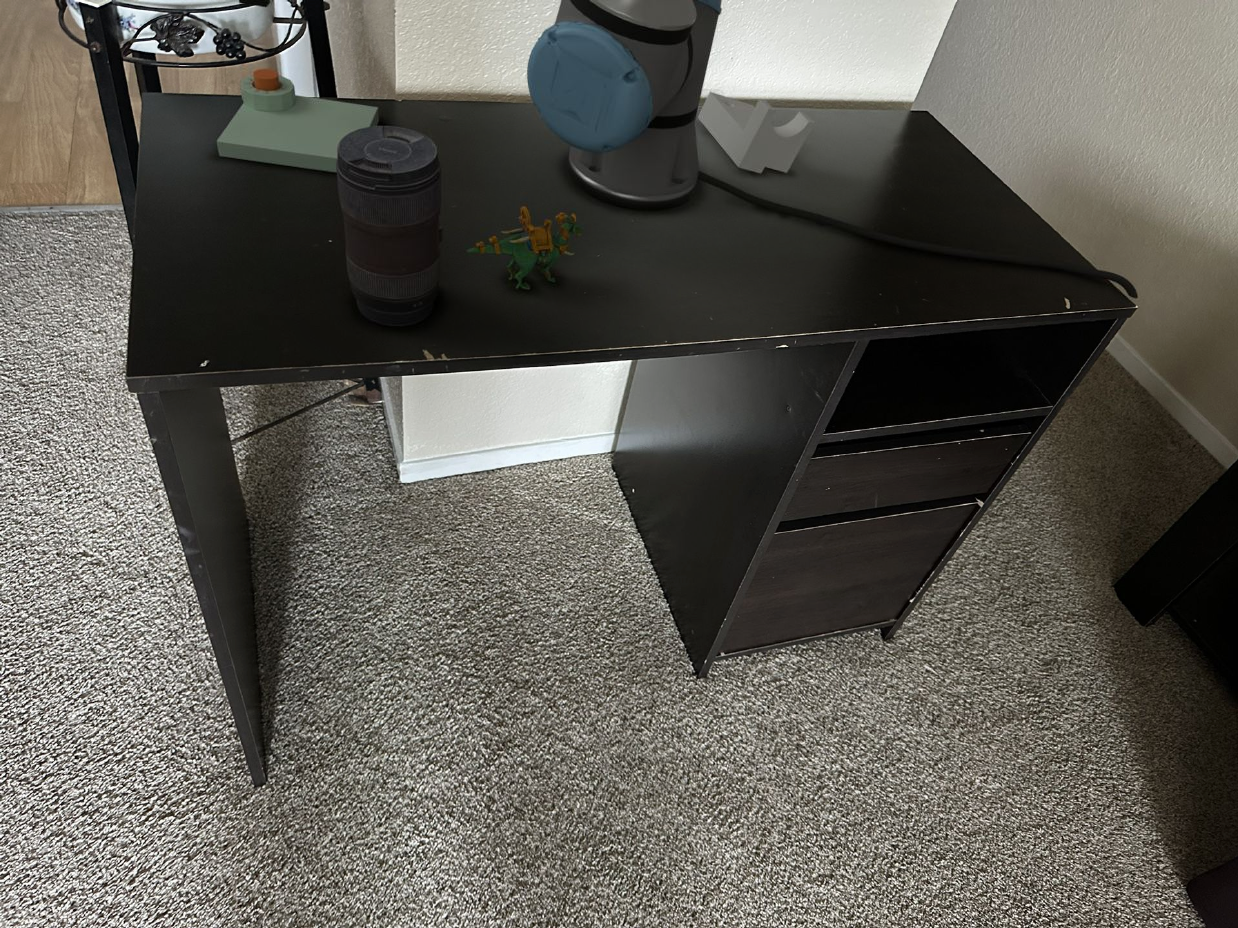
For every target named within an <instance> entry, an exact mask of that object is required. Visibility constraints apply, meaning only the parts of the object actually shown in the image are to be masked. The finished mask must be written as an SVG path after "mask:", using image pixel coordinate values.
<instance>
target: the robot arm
mask: <svg viewBox="0 0 1238 928" xmlns="http://www.w3.org/2000/svg"><path fill="white" fill-rule="evenodd" d="M722 1H723V0H560V3H559V8H558V11H557V15H556V18H555V22H554V23H553V24H552V25H551V26H549V27H547V28H546V29H544V31H542V33H541V35H540V37H538V38H537V40H536V42H535V44H534V45H533V47H532V49H531V51H530V54H529V57H528V61H527V67H526V79H527V80H526V81H527V87H528V88H527V89H528V92H529V95H530V99H531V101H532V104H533V106H534V107H536V109H537V111H538V113H539V114H540V119H541V120H542V121H543V123H544V124H545V126H546V127H547V128H548V129H549V130H550V132H552V133H553V134H554V135H555V136H556V137H558V138H559V139H560V140H562V141H563V142H564V143H566V144H568V145H569V146H570V148H569V150H568V158H567V159H568V161H567V172H568V174H569V176H570V178H571V180H572V181H573V182H574V183H575V184H576V185H577V186H578V187H579V188H580V189H582V191H584V192H585V193H587V194H588V195H591V196H593V197H594V198H596V199H599V200H601V201H604V202H606V203H609V204H612V205H615V206H619V207H623V208H629V209H635V210H648V211H650V210H651V211H653V210H665V209H670V208H674V207H678V206H681V205H683V204H684V203H686V202H688V201H690V199H691V198H692V197H694V196H695V193H696V190H697V187H698V183H699V181H701V182H704V183H706V184H708V185H711V186H713V187H715V188H718V189H720V190H722V191H724V192H726V193H729V194H731V195H733V196H735V197H737V198H738V199H740V200H743V201H744V202H745V201H746V202H747V203H750V204H752V205H756V206H758V207H761V208H764V209H767V210H771V211H774V212H777V213H779V214H780V213H781V214H785V215H788V216H792V217H796V218H800V219H804V220H808V221H811V222H815V223H819V224H822V225H825V226H829V227H832V228H835V229H838V230H841V231H844V232H848V233H851V234H854V235H857V236H861V237H864V238H867V239H869V240H874V241H878V242H882V243H886V244H891V245H895V246H899V247H903V248H908V249H913V250H919V251H923V252H928V253H936V254H940V255H947V256H953V257H959V258H967V259H974V260H975V259H976V260H982V261H983V260H984V261H991V262H999V263H1000V262H1001V263H1009V264H1015V265H1022V266H1031V267H1039V268H1041V267H1042V268H1047V269H1054V270H1055V269H1056V270H1060V271H1065V272H1069V273H1074V274H1078V275H1082V276H1086V277H1091V278H1092V277H1093V278H1096V279H1097V278H1099V279H1102V280H1107V281H1110V282H1113V283H1116V284H1118V285H1119V286H1121V287H1122V288H1123V289H1124V290H1125V293H1126V294H1127V295H1128V297H1130V298H1132V299H1138V298H1139V297H1138V296H1139V295H1138V292H1137V290H1136V288H1135V286H1134V285H1133V284H1132V282H1130V280H1128V279H1127V278H1126V277H1124V276H1123V275H1121V274H1117V273H1114V272H1111V271H1107V270H1101V269H1096V268H1090V267H1085V266H1081V265H1077V264H1074V263H1069V262H1065V261H1060V260H1059V261H1058V260H1053V259H1045V258H1037V257H1030V256H1029V257H1028V256H1020V255H1013V254H1006V253H1000V252H999V253H997V252H989V251H982V250H981V251H980V250H973V249H965V248H960V247H959V248H958V247H953V246H945V245H940V244H933V243H928V242H923V241H917V240H913V239H907V238H903V237H900V236H899V237H898V236H894V235H890V234H887V233H886V234H885V233H882V232H879V231H875V230H871V229H868V228H864V227H861V226H858V225H854V224H852V223H848V222H845V221H841V220H839V219H836V218H832V217H829V216H825V215H822V214H819V213H815V212H811V211H809V210H808V211H807V210H804V209H800V208H796V207H792V206H788V205H784V204H780V203H777V202H773V201H770V200H767V199H765V198H764V199H763V198H762V197H758V196H756V195H753V194H751V193H748V192H747V191H745V190H742V189H740V188H738V187H736V186H734V185H732V184H730V183H728V182H725V181H723V180H721V179H719V178H717V177H715V176H712V175H710V174H708V173H705V172H703V171H701V170H700V163H699V153H698V141H697V132H696V119H697V114H698V109H699V105H700V101H701V97H702V93H703V88H704V84H705V78H706V74H707V70H708V65H709V61H710V56H711V52H712V47H713V42H714V38H715V34H716V29H717V26H718V22H719V21H718V20H719V17H720V16H721V14H722V11H723V9H722ZM238 3H239V4H243V5H249V6H255V7H262V8H267V7H268V6H269V5H270V3H271V0H238Z"/></svg>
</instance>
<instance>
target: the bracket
mask: <svg viewBox="0 0 1238 928" xmlns="http://www.w3.org/2000/svg"><path fill="white" fill-rule="evenodd" d="M775 113H776V109H775V108H774V107H773V106H772V105H771V104H770V103H769V102H768V101H767V100H765V99H762V98H759V99H758V101H757V103H756V104H755V106H754V105H752V104H750V103H746V102H743V101H740V100H737V99H734V98H731V97H728V96H725V95H721V94H718V93H716V92H712V91H709V93H708V94H707V97H706V99H705V101H704V104H703V105H702V108H701V110H700V112H699V114H698V116H697V119H698V120H699V121H700V122H701V124H702V125H703V126H704V127H705V128H706V130H707V131H708V132H709V133H710V135H711V136H712V137H713V138H714V139H715V141H716V142H717V144H719V146H720V147H721V148H722V149H723V151H724V152H725V153H726V154H727V156H729V158H730V159H731V161H732V162H733V163H734V164H735V165H736V166H737V168H740V169H743V170H746V171H751V172H754V173H757V174H762V173H763V172H764V169H765V168H768V169H772V170H776V171H779V172H782V173H785V174H788V172H789V170H790V168H791V167H792V165H793V163H794V161H795V159H796V158H797V156H798V154H799V153H800V151H801V149H802V148H803V145H804V143H805V142H806V140H807V138H808V136H809V135H810V133H811V131H812V129H813V127H814V126H815V122H814V121H813V120H812V119H811V118H810V117H809V116H808V115H807V114H806V113H805V112H802V111H798V112H797V114H796V115H795V117H794V118H792V120H790V121H789V122H788V123H786V124H784V125H781V126H773V119H774V115H775Z"/></svg>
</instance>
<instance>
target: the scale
mask: <svg viewBox="0 0 1238 928" xmlns="http://www.w3.org/2000/svg"><path fill="white" fill-rule="evenodd" d="M278 75H279V83H280V89H278V90H275V91H263V90H258V89H256V88H255V83H254V77H253V74H252V75H248V76H245V77H243V78H242V80H241V81H240V82H239V88H240V94H241V100H242V102H243V103H242V105H241V106H240V107H239V109H238V110H237V112H236V113H235V114H234V115H233V118H231V120H230V122H229V123H228V124H227V125H226V127H225V129H224V130H223V131H222V133H221V134H220V136H219V137H218V138H217V140H216V145H217V151H218V156H219V157H223V158H230V159H237V160H244V161H245V160H246V161H252V162H257V163H258V162H260V163H266V164H272V165H273V164H274V165H279V166H281V165H282V166H288V167H295V168H301V169H308V170H317V171H321V172H330V173H336V174H337V170H336V161H337V156H338V155H337V147H338V143H339V142H340V140H341V139H342V138H343V137H344V136H345V135H347V134H348V133H350V132H353V131H355V130H358V129H361V128H365V127H372V126H378V124H379V122H380V113H379V107H378V106H371V105H364V104H358V103H352V102H345V101H344V102H343V101H337V100H331V99H324V98H317V97H310V96H303V95H298V94H296V90H295V89H296V88H295V84H294V83H293V82H292V80H291V79H290V78H287V77H285V76H282V75H280V74H278Z"/></svg>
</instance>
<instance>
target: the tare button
mask: <svg viewBox="0 0 1238 928" xmlns="http://www.w3.org/2000/svg"><path fill="white" fill-rule="evenodd" d="M252 75H253V77H254V83H255V88H256V89H258V90H263V91H275V90H278V89H280V83H279V75H280V74H279V73H278V72H277V71H276V70H273V69H269V68H260V69H256V70H254V71H253V73H252Z"/></svg>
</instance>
